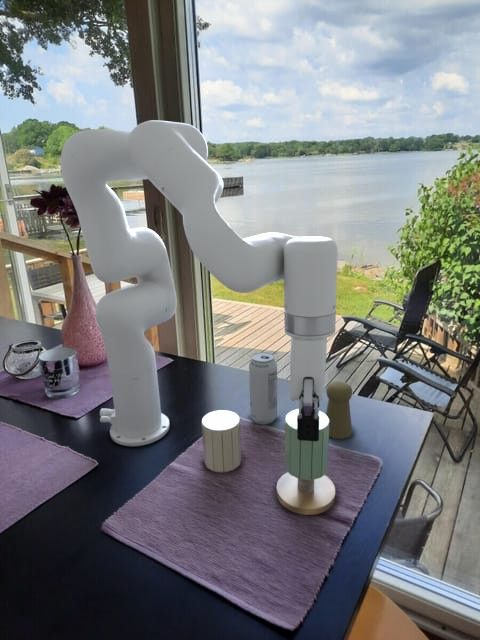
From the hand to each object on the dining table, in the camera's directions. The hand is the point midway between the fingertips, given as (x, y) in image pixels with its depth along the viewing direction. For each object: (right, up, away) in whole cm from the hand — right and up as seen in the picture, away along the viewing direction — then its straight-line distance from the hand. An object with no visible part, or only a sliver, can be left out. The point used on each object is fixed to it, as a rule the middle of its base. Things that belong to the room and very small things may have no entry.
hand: (308, 422), depth 71 cm
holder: (0, -13, +5) cm, 14 cm away
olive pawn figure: (+10, -7, +22) cm, 25 cm away
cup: (-14, -11, +14) cm, 23 cm away
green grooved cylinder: (0, -8, +3) cm, 9 cm away
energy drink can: (-6, -6, +28) cm, 29 cm away
